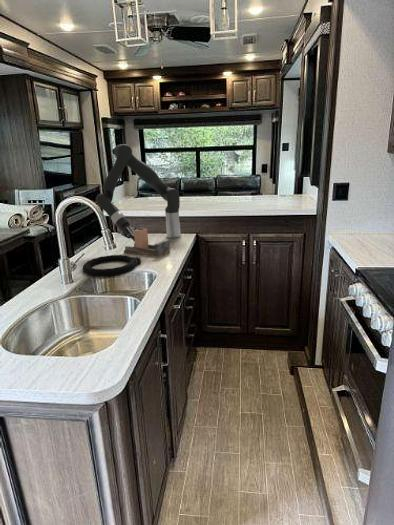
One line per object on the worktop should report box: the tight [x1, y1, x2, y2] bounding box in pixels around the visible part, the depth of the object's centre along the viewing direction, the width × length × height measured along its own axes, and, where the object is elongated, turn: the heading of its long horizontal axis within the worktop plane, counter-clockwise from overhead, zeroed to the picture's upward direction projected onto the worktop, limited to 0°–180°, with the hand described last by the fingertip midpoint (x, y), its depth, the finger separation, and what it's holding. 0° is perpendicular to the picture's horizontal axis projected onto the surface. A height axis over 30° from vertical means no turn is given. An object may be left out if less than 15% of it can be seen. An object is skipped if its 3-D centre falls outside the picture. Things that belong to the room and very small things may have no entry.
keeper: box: [134, 226, 150, 249], centre depth 207 cm, size 6×5×13 cm
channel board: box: [123, 239, 171, 258], centre depth 207 cm, size 12×25×8 cm, turn 60°
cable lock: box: [82, 254, 142, 277], centre depth 183 cm, size 28×4×30 cm
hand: (137, 241), depth 210 cm, fingers closed
